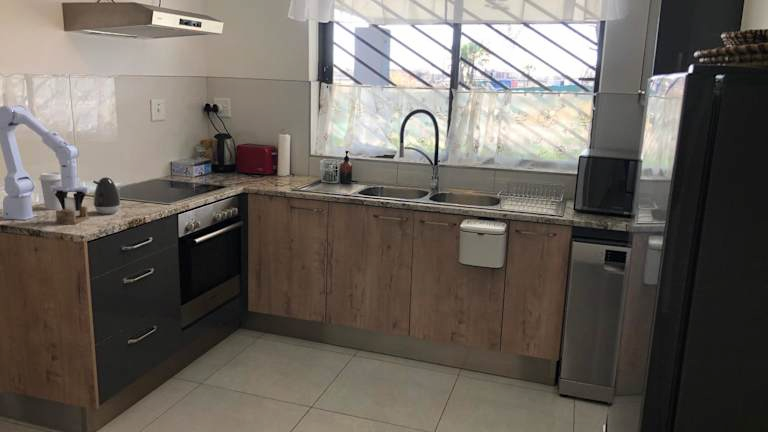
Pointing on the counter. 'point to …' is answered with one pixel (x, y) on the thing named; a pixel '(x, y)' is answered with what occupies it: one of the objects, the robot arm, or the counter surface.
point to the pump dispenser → (106, 196)
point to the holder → (71, 216)
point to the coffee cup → (49, 196)
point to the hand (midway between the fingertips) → (71, 210)
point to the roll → (71, 205)
